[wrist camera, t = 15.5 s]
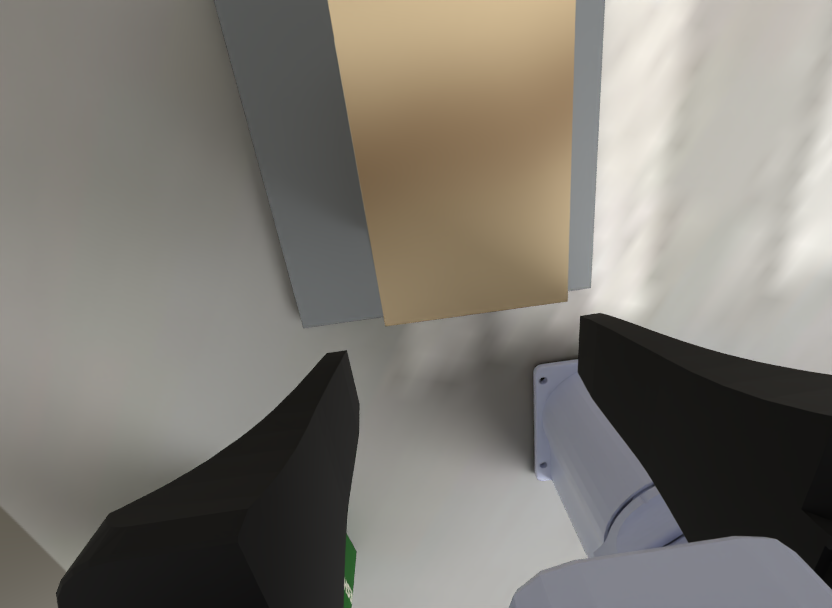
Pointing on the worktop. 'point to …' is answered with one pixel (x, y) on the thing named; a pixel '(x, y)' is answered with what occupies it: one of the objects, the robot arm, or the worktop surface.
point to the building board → (335, 158)
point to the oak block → (461, 149)
